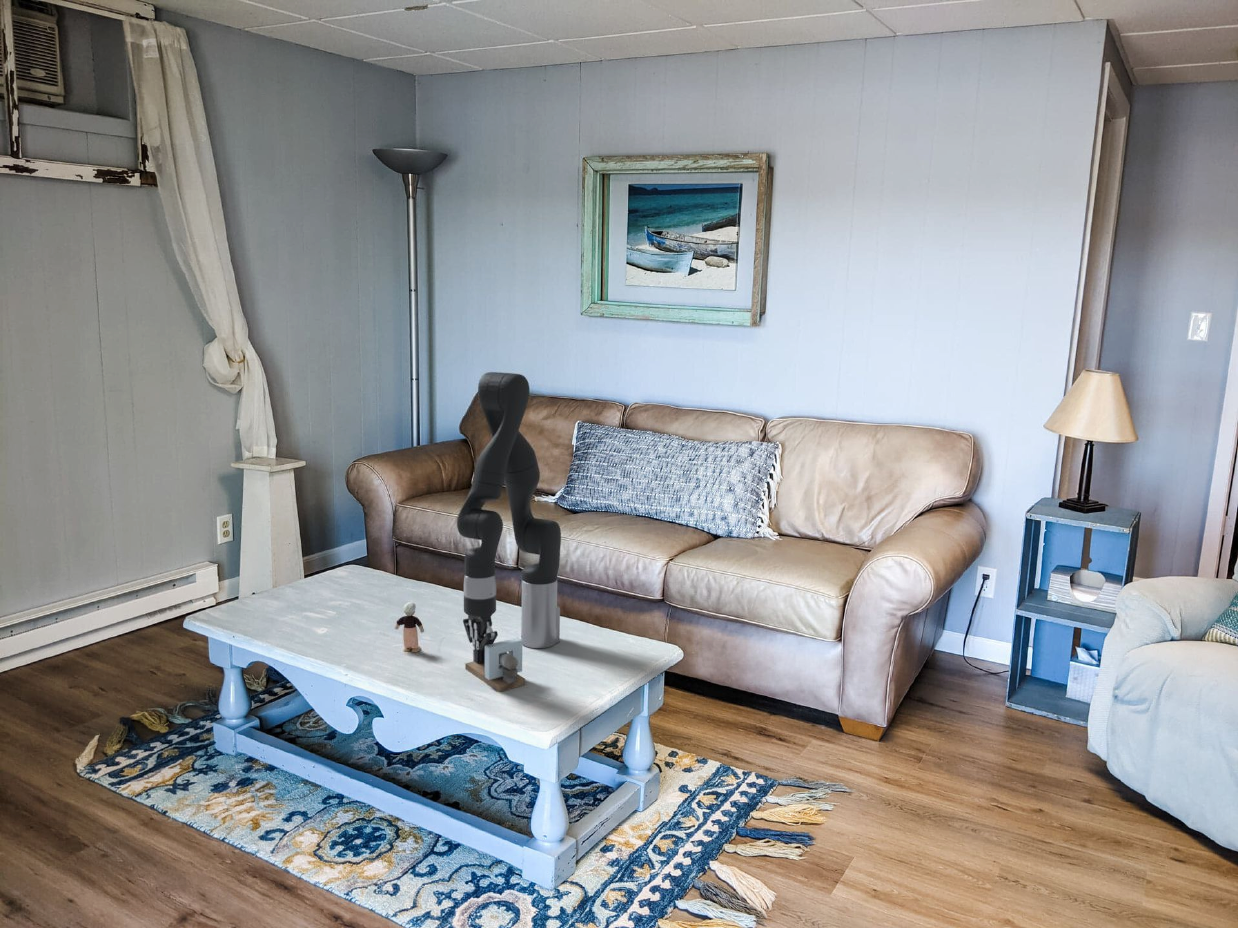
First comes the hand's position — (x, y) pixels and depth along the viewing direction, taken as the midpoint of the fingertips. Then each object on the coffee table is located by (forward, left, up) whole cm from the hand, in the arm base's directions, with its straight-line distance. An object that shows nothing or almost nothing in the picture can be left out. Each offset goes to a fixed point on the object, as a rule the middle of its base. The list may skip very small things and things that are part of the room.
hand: (480, 662), depth 223 cm
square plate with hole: (-3, +5, -2) cm, 6 cm away
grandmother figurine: (+6, -26, -4) cm, 27 cm away
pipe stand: (-3, +1, -4) cm, 5 cm away
